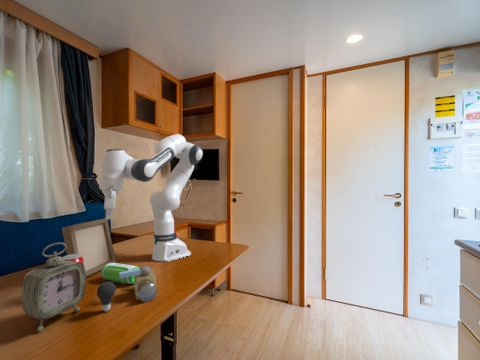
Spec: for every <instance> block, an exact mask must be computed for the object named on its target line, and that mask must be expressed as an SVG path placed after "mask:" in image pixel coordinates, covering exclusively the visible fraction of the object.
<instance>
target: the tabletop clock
mask: <svg viewBox="0 0 480 360" xmlns="http://www.w3.org/2000/svg"><path fill="white" fill-rule="evenodd" d="M57 245H62V246H64V249H63V250H60V252H57V251H52V254H45V251H46V250H47V249H49V248H50V247H54V246H57ZM66 248H67V247H66V244H65V242H60V241H59V242H54V243H51V244H48V245H47V246H45V248H43V250H42V252H41V254H42V256H43V257H45V258H48V259H47V260H46V262H45V263H44V265H41V266H39V267H37V268H34V269H31V270H30V271H29V272H27V273H26V274H24V277H23V281H22V284H21V296H20V299H21V307H22V311H23V313H24V314H25V315H26V316H29V317H32V318H35V319H38V320H39V326H38V327H36V329H35V330H36V332H38V333H41V332H42V331H43V330H44V325H43V322H44V320H47V319H48V320H49V319H50V320H51V319H52V318H53V317H55V316H57V315H59V314H61V313H64V312H66V311H67V310H69V309H71V308H73V312H74V313H78V312H79V311H80V306H76V305H77V304H78V303H80V302H81V301H82V300H83V298H84V296H85V293H86V282H87V277H86V275H85V268H84V265H83V263H78V262H72V261H65V260H64V259H63V258H62V257H63V256H60V255H61V254H63V253H64V252H66Z"/></svg>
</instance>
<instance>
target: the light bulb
mask: <svg viewBox="0 0 480 360" xmlns="http://www.w3.org/2000/svg"><path fill="white" fill-rule="evenodd" d="M116 289H117V287H116V285H115V282H113V281H105V282H102V283H101V284H100V285H99V286H98V287H97V291H96V296H97V298H98V299H99V301H100V302H101V303H100V304H101V305H102V306H101V308H102V311H103V312H108V311H109V310H111V306H112V305H111V304H112V300H113V298H114V295H115V293H116Z"/></svg>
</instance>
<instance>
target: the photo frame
mask: <svg viewBox="0 0 480 360" xmlns="http://www.w3.org/2000/svg"><path fill="white" fill-rule="evenodd" d="M109 226H110V225H109V221H108V219H106V217H105V218H101V219H95V220H90V221H87V222H81V223H76V224H73V225H67V226H65V227H61V230H62V231H61V232H62V237H63V239H64V242H63V243H64V244H66V247H67V248H66V250H65V252H66V256H67V255H71V254H81V255H82V257H83V258H84V268H85V275H86V278H87V277H88V276H91V275H93V274H94V273H95V274H96V273H97V272H99V271H101V270H102V268H103V267H104V266H105V265H106V264H108V263H117V261H116V256H115V251H114V247H113V241H112V237H111V232H110V227H109Z"/></svg>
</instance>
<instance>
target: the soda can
mask: <svg viewBox="0 0 480 360" xmlns="http://www.w3.org/2000/svg"><path fill="white" fill-rule="evenodd" d="M61 257H62V258H63V259H64V260H65V261H72V262H78V263H83V265H84V258H83V257H82V255H81V254H71V255H67V254H66V255H64V256H61Z"/></svg>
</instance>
